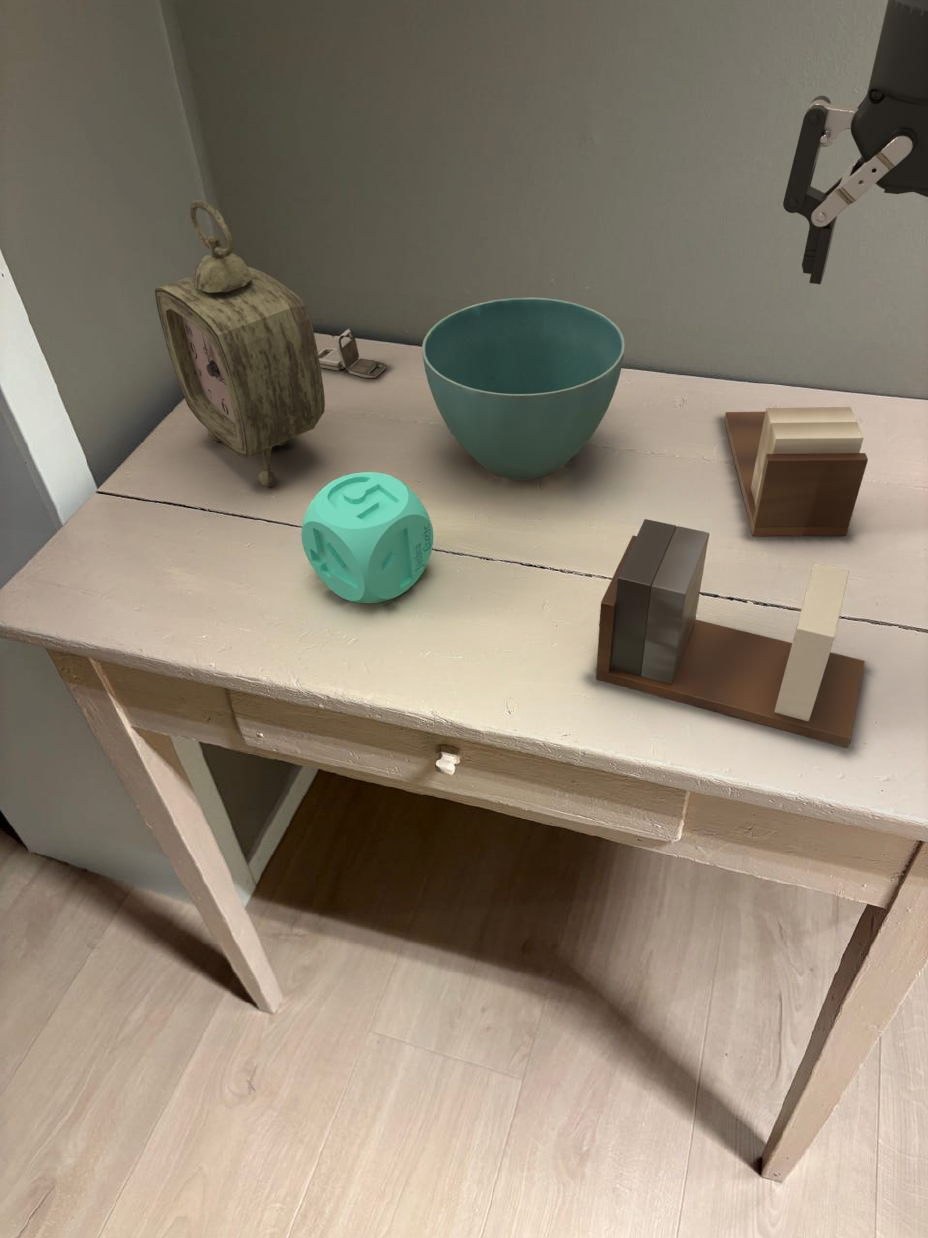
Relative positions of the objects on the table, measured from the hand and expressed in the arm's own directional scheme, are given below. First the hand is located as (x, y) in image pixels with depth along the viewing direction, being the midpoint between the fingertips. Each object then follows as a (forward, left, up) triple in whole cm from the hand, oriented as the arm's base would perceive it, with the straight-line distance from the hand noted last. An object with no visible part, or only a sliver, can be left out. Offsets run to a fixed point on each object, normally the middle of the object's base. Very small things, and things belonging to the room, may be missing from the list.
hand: (886, 288), depth 61 cm
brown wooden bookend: (+4, +11, -26) cm, 29 cm away
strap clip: (+54, -21, -26) cm, 63 cm away
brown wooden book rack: (+5, -16, -26) cm, 31 cm away
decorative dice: (+35, +10, -26) cm, 45 cm away
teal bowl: (+29, -11, -26) cm, 40 cm away
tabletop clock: (+54, -3, -26) cm, 60 cm away
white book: (-1, +11, -25) cm, 28 cm away
